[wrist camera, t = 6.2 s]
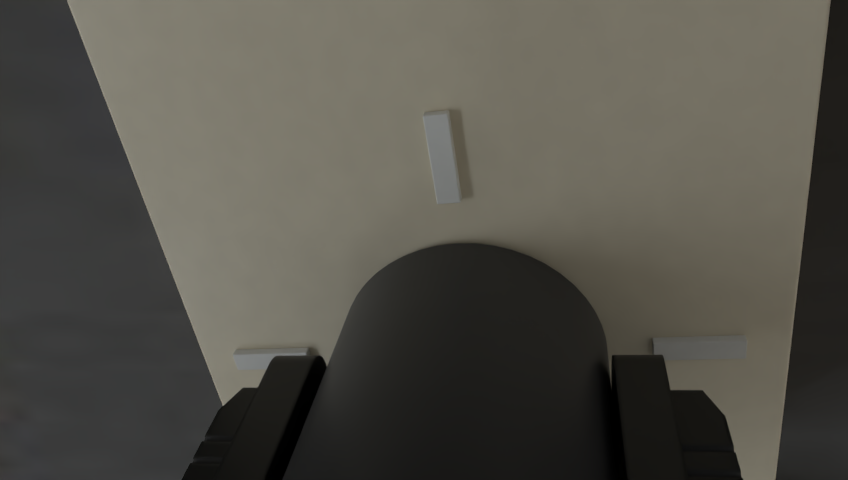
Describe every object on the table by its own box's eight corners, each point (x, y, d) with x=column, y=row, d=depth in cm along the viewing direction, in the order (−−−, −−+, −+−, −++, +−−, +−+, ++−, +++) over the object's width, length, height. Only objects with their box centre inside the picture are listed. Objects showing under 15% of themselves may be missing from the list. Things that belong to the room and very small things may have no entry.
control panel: (131, -33, 12) (56, -2, 10) (796, -132, 10) (851, -115, 8) (292, 445, 17) (261, 522, 15) (747, 445, 15) (773, 534, 13)
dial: (371, 446, 14) (286, 755, 9) (320, 248, 12) (176, 527, 7) (611, 446, 13) (641, 788, 9) (602, 232, 11) (637, 537, 6)
